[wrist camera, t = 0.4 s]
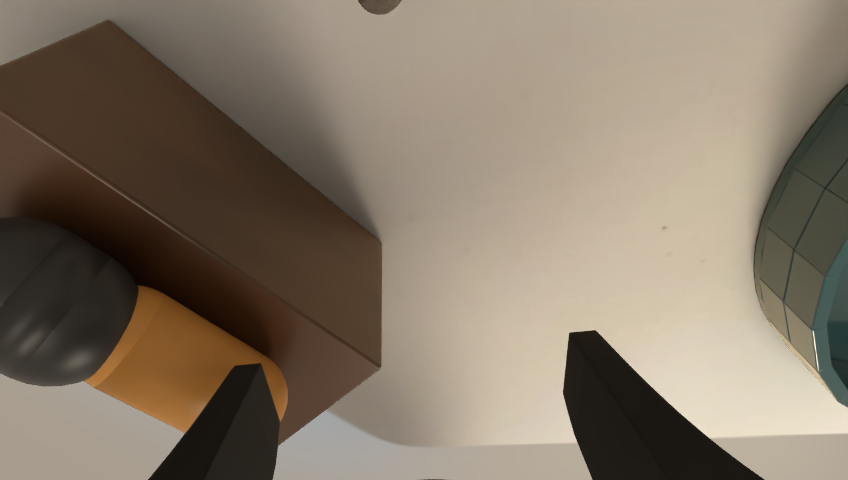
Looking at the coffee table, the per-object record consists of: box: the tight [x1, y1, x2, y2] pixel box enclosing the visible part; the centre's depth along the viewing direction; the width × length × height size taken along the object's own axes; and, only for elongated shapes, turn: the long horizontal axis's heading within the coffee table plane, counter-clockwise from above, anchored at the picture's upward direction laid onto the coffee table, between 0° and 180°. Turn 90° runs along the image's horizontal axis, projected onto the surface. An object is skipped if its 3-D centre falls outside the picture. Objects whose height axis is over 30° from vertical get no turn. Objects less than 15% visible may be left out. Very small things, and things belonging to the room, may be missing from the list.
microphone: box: [0, 217, 288, 433], centre depth 13 cm, size 9×3×3 cm, turn 43°
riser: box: [0, 20, 382, 445], centre depth 17 cm, size 12×5×7 cm, turn 43°
